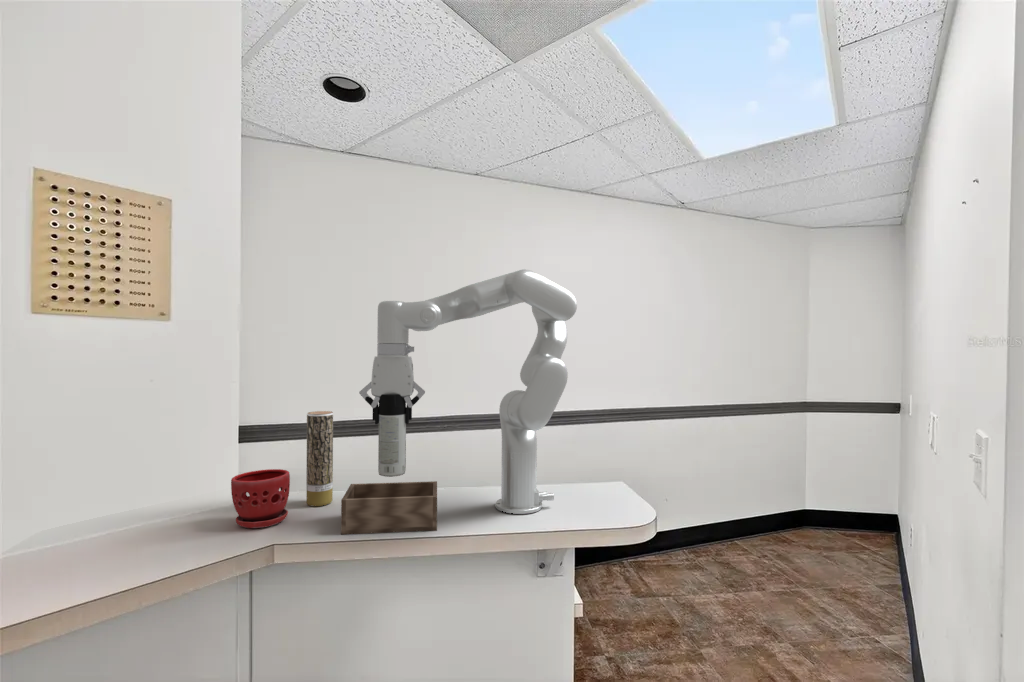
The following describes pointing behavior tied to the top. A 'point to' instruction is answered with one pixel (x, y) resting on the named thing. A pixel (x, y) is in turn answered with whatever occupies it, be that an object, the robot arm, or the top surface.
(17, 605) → the top surface
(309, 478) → the paper tube
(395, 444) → the spray can
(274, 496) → the plant pot
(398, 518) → the walnut box
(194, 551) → the top surface
